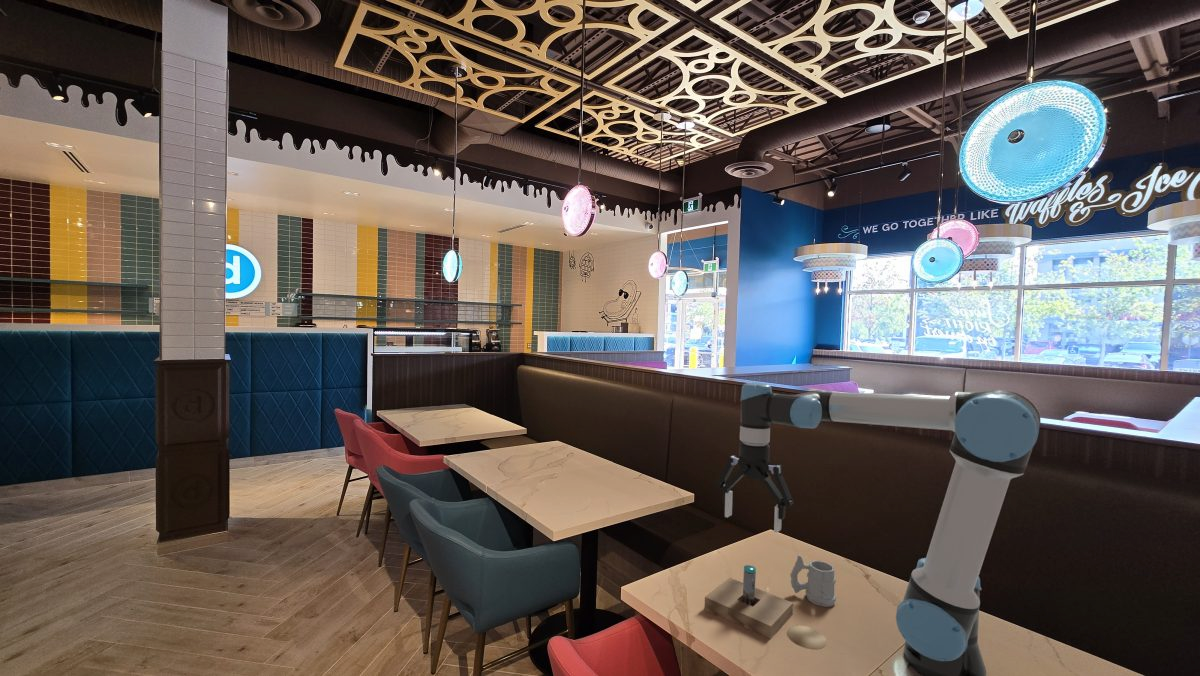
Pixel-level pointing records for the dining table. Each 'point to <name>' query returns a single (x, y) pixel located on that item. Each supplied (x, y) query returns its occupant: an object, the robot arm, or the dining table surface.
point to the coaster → (806, 637)
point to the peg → (749, 585)
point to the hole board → (749, 608)
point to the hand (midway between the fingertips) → (752, 523)
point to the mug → (815, 582)
